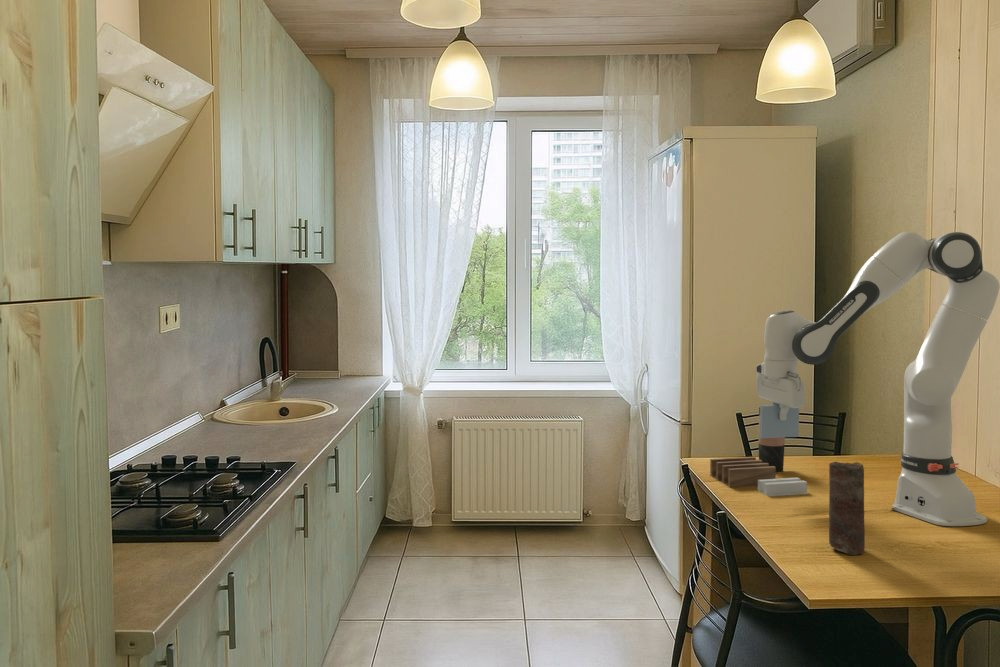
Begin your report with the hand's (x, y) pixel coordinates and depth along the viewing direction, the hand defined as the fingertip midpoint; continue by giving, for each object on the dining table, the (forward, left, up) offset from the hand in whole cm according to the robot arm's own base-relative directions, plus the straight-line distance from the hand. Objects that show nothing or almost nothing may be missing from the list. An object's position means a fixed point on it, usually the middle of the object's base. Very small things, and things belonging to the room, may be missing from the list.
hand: (779, 419), depth 225 cm
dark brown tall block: (-44, +7, -22) cm, 50 cm away
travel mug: (+24, -11, -22) cm, 34 cm away
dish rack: (+13, +4, -21) cm, 25 cm away
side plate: (0, 0, -5) cm, 5 cm away
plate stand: (-1, -1, -21) cm, 21 cm away
